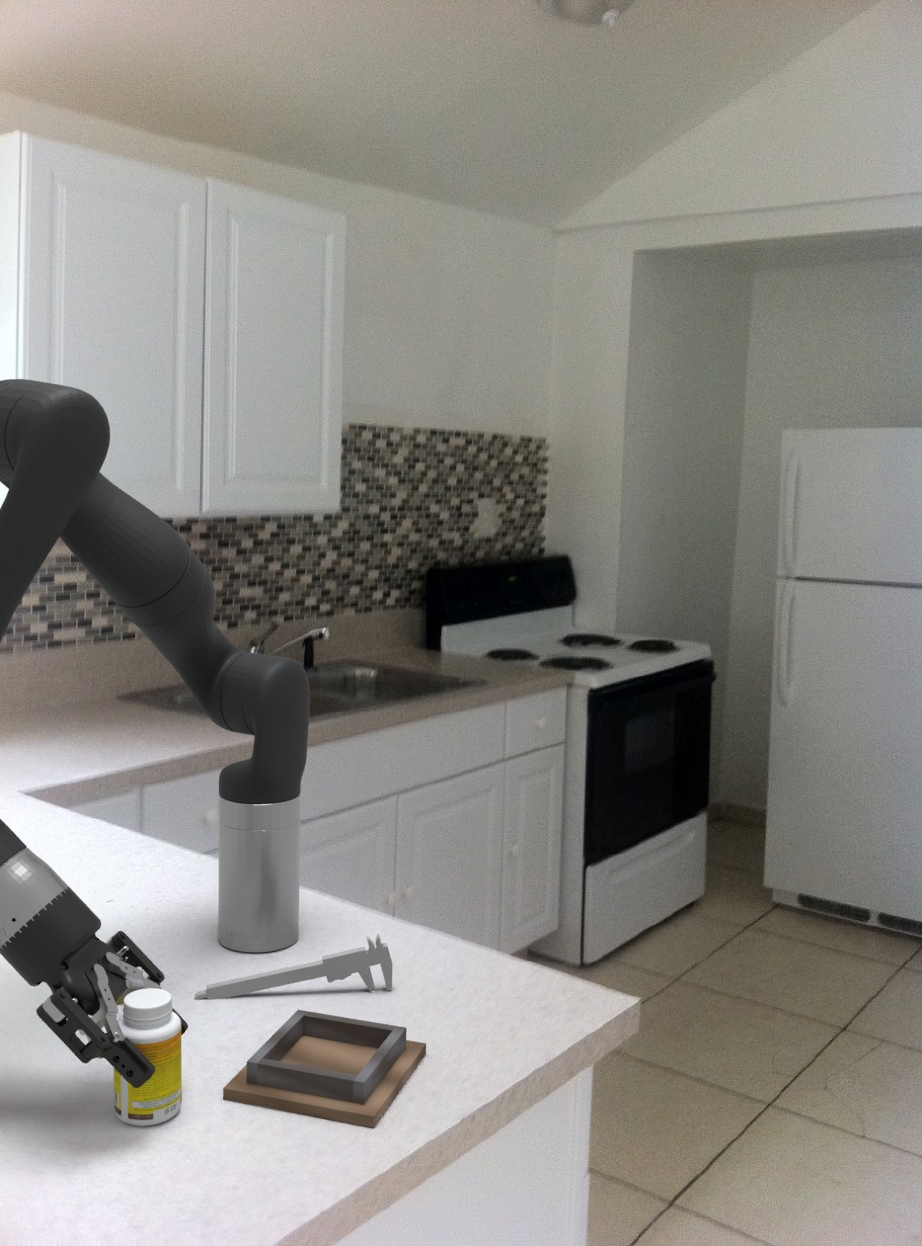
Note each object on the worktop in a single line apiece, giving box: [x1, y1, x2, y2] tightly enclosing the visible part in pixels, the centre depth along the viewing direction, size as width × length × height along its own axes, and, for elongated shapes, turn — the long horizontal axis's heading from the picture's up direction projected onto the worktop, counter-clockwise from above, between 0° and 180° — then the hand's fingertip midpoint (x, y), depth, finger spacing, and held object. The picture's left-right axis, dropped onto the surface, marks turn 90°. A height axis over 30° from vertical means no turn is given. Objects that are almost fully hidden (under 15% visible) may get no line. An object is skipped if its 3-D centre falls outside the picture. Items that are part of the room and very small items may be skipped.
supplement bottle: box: [113, 988, 183, 1127], centre depth 106 cm, size 6×6×10 cm
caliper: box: [194, 933, 393, 1001], centre depth 130 cm, size 20×1×6 cm, turn 100°
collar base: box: [222, 1009, 427, 1129], centre depth 113 cm, size 14×14×3 cm
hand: (164, 1056), depth 106 cm, fingers open, 7 cm apart
